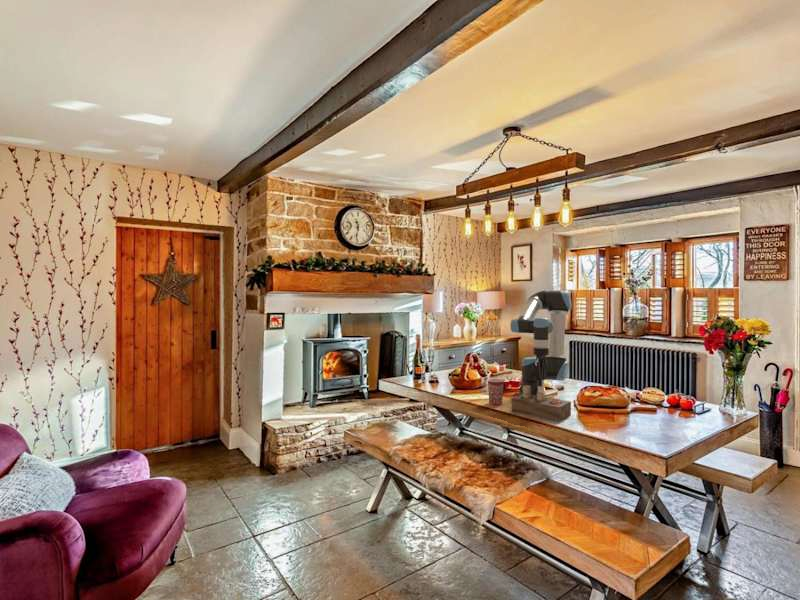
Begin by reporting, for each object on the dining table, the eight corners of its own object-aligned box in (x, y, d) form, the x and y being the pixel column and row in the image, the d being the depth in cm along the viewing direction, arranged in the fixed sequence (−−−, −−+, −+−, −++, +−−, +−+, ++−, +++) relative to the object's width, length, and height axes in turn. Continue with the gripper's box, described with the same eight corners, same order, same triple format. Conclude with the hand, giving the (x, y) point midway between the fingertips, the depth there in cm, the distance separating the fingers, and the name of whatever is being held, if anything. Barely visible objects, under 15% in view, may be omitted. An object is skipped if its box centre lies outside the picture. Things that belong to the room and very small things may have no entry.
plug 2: (553, 413, 230) (553, 397, 229) (561, 414, 227) (561, 398, 227) (550, 414, 227) (550, 398, 227) (557, 416, 224) (558, 399, 224)
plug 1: (524, 400, 240) (524, 385, 240) (531, 401, 238) (531, 386, 237) (521, 402, 237) (521, 386, 237) (528, 403, 235) (528, 387, 234)
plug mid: (538, 407, 235) (538, 391, 235) (546, 408, 232) (546, 392, 232) (535, 409, 232) (535, 393, 232) (542, 410, 229) (542, 394, 229)
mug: (496, 406, 245) (496, 382, 245) (484, 403, 253) (484, 379, 252) (511, 403, 253) (511, 379, 252) (499, 399, 260) (499, 376, 260)
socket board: (523, 406, 246) (523, 393, 246) (570, 415, 229) (570, 401, 229) (511, 411, 236) (511, 398, 236) (559, 421, 218) (559, 407, 218)
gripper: (539, 345, 239) (539, 388, 239) (528, 348, 229) (528, 393, 230) (553, 346, 233) (553, 391, 234) (542, 349, 224) (542, 395, 225)
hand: (540, 392), depth 232 cm, fingers closed
